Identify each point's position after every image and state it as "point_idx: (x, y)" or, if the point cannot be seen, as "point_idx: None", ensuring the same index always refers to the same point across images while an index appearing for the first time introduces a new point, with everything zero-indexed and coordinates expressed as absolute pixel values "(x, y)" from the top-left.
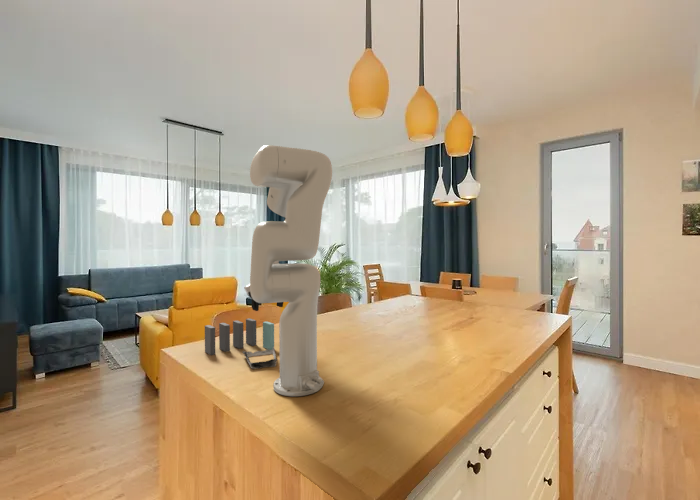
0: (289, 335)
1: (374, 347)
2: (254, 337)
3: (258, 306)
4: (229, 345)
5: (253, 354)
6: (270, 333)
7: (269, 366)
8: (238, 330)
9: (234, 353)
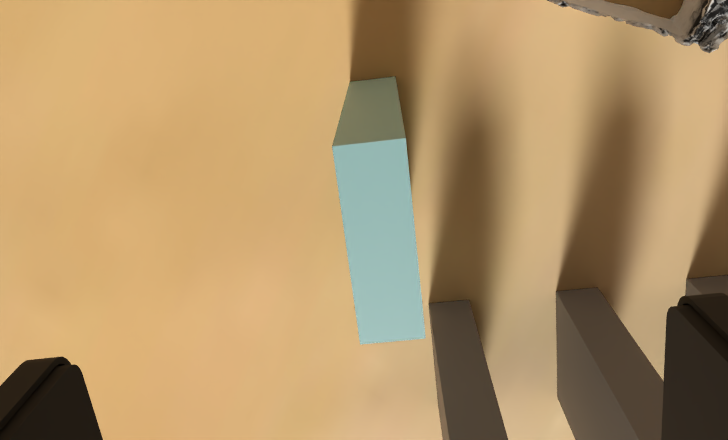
0: None
1: None
2: (455, 341)
3: (719, 351)
4: None
5: (606, 8)
6: (395, 108)
7: None
8: None
9: (692, 190)
